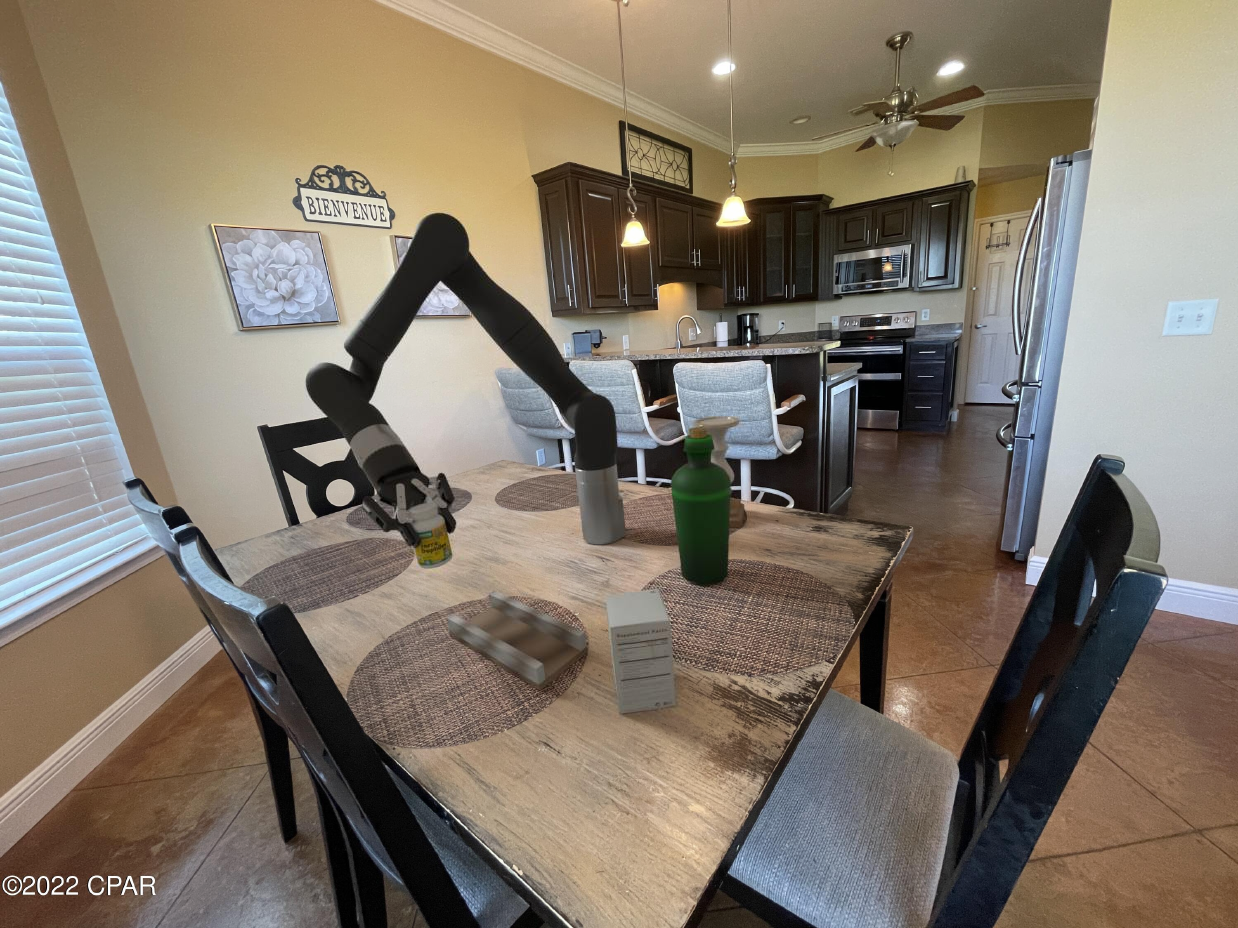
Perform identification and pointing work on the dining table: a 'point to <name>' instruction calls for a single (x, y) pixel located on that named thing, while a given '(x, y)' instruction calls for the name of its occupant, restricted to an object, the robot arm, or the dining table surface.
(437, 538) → the supplement bottle
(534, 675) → the walnut track
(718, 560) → the bottle
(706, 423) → the candle holder
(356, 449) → the robot arm
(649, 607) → the supplement box
